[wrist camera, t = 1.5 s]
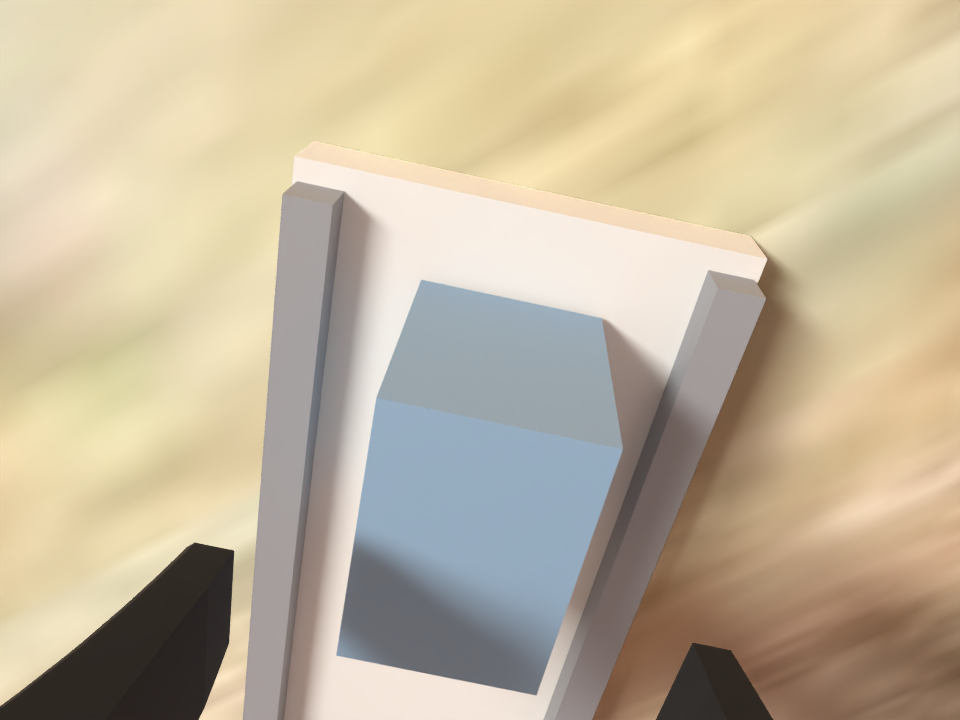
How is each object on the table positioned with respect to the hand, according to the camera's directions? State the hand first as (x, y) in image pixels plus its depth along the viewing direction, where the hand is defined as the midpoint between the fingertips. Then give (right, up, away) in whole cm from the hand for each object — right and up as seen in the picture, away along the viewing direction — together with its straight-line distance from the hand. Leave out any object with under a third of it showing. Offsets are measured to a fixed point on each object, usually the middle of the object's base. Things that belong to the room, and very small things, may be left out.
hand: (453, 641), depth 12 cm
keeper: (+1, +3, +6) cm, 7 cm away
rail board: (-1, -2, +11) cm, 11 cm away
